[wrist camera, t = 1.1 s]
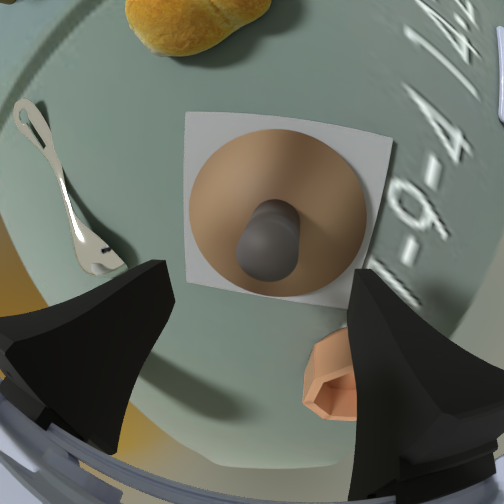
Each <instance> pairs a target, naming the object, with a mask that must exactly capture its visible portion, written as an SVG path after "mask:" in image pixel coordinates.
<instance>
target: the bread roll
mask: <svg viewBox="0 0 504 504" xmlns="http://www.w3.org/2000/svg"><path fill="white" fill-rule="evenodd" d="M271 1H272V0H127V1H126V4H125V13H126V16H127V19H128V23H129V26H130V28H131V29H132V30H133V31H134V33H135V34H136V35H137V36H138V38H140V40H141V41H142V43H143V44H144V45H145V46H146V47H147V48H148V49H149V50H150V51H151V52H152V53H153V54H155V55H157V56H160V57H167V56H179V57H181V56H189V55H194V54H197V53H200V52H202V51H205V50H207V49H209V48H211V47H213V46H215V45H217V44H219V43H220V42H221V41H222V40H224V39H225V38H226V37H228V36H229V35H230V34H231V33H233V32H234V31H236V30H238V29H239V28H240V27H242V26H244V25H246V24H249V23H251V22H253V21H255V20H256V19H258V18H259V17H260V16H262V15H263V14H264V13H265V12H266V11H267V10H268V9H269V7H270V4H271Z"/></svg>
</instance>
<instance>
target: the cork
mask: <svg viewBox="0 0 504 504" xmlns="http://www.w3.org/2000/svg"><path fill="white" fill-rule="evenodd" d="M14 1H15V0H0V3H4V4H12V3H13V2H14Z"/></svg>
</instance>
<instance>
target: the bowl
mask: <svg viewBox="0 0 504 504" xmlns="http://www.w3.org/2000/svg"><path fill="white" fill-rule="evenodd" d="M303 404H304V405H306V406H307V407H308V408H310V409H311V410H312V411H314V412H315V413H316V414H318V415H319V416H320V417H322V418H323V419H327V420H346V421H357V393H356V383H355V376H354V369H353V363H352V357H351V351H350V345H349V338H348V327H345V328H342V329H340V330H337V331H335V332H333V333H331V334H329V335H328V336H326V337H325V338H323V339H322V340H321V341H320V342H318V343H316V344H315V346H314V348H313V350H312V352H311V354H310V357H309V362H308V364H307V367H306V370H305V377H304V390H303Z"/></svg>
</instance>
